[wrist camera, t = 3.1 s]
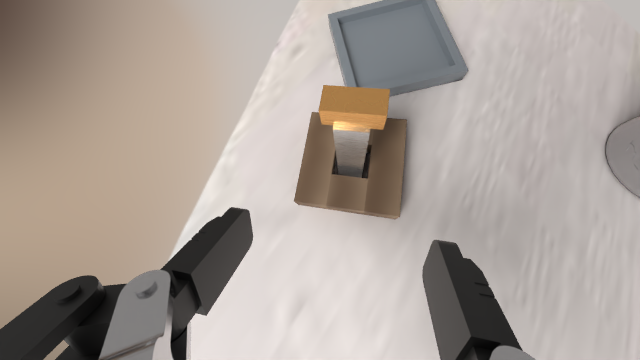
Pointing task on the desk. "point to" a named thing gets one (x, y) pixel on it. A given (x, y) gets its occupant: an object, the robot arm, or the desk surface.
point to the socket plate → (352, 192)
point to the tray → (395, 46)
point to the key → (353, 122)
